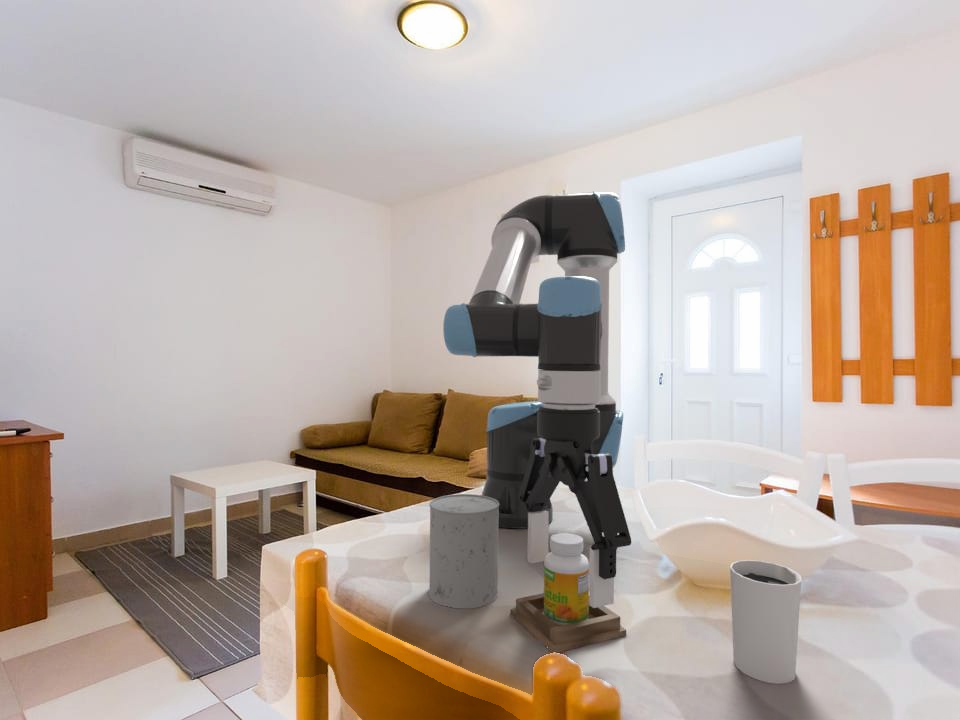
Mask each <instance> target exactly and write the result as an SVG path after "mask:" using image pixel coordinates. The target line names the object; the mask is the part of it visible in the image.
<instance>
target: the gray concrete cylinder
mask: <svg viewBox="0 0 960 720" xmlns="http://www.w3.org/2000/svg"><path fill="white" fill-rule="evenodd" d="M429 507H430V508H429V509H430V510H429V512H430V513H429V588H428V596H429V599H431V600H432V601H433V602H434V603H436V604H437V603H438V604H437V605H439V604H440V605H439V606H442V605H443V607H445V606H448V607H447V608H450V607H452V608H451V609H459V608H460V609H461V610H462V609H463V610H464V609H476V608H480V607H484V606H487V605H489V604H491V603H493V602H494V601H495V600H496V599H497V598H498V597H499V596H498V595H499V580H498V579H499V527H498V520H499V502H498V501H497V500H496V499H493V498H491V497H487V496H482V494H481V495H480V494H469V493H468V494H467V493H464V494H463V493H459V494H456V493H455V494H448V495H442V496H439V497H436V498H434V499H433V498H432V499H431V501H429ZM460 609H459V610H460Z"/></svg>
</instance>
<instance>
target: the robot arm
mask: <svg viewBox="0 0 960 720" xmlns="http://www.w3.org/2000/svg"><path fill="white" fill-rule="evenodd" d="M621 206H622V205H621V201H620V198H619V196H618V195H617V193H614V192H611V191H609V192H607V191H606V192H605V191H603V192H600V191H599V192H597V191H592V192H581V193H564V194H552V195H551V194H550V195H548V194H546V195H539V196H534V197H531V198H528V199H526V200H524V201H522V202H520V203H518V204H517V205H515V206H513V207H512V208H511V209H509V210H508V211H507V212H506V213H504V215H503V216H502V217H501V218H500V219H499V220H498V222H497V223H496V226H495V227H494V229H493V231H492V234H491V241H490V243H491V250H490V251H489V256H488V258H487V260H486V262H485V264H484V267H483V269H482V271H481V275H480V277H479V279H478V281H477V283H476V285H475V288H474V291H473V293H472V296H471V299H470V300H469V302H468V303H467V304H466V303H464V302H463V303H461V304H452V305H451V306H449V307H448V308H447V309H446V310H445V314H444V317H443V318H444V319H443V327H442V328H443V330H442V331H443V340H444V345H445V347H446V349H447V351H448V352H449V353H450V354H451V355H454V356H464V357H465V356H466V357H473V358H477V357H529V358H530V357H532V358H533V357H534V358H537V357H538V363H537V371H538V372H537V376H538V377H537V379H536V385H537V400H536V401H523V402H515V403H507V404H502V405H497V406H494V407H492V408H490V410H489V412H488V414H487V427H486V429H485V431H486V480H485V483H484V487H483V490H482V493H481V495H482V496H487V497H491V498H493V499H496V500H497V501H498V502H499V520H498V528H499V527H500V528H504V529H505V528H506V529H507V528H508V529H527V562H528V563H530V564H535V563H542V562H544V561H545V557H546V556H547V555H548V554H549V528H550V527H549V524H550V523H551V522H552V521H553V516H554V514H553V511H554V509H553V505H552V501H551V497H552V495H553V494H554V492H555V491H556V489H557V487H558V486H559V484H560V482H561V483H562V484H563V485H565V486H567V487H568V488H569V491H570V493H573V494H575V497H576V499H577V502H578V504H579V506H580V509H581V511H582V514H583V517H584V520H585V522H586V524H587V526H588V529H589V532H590V535H591V537H592V540H593V542H594V543H592V544H591V545H590V546H589V605H590V606H591V607H593V608H596V607H601V606H605V607H606V606H608V605H613V604H614V601H615V600H614V599H615V598H614V597H615V595H614V592H615V590H614V589H615V586H614V585H615V578H616V575H617V549H618V548H623V547H628V546H631V544H632V538H631V533H630V530H629V526H628V522H627V520H626V516H625V512H624V509H623V505H622V502H621V498H620V495H619V491H618V487H617V483H616V481H615V477H614V469H613V468H615V466H616V464H617V462H618V458H619V452H620V445H621V441H622V440H621V438H622V433H623V432H622V431H623V430H622V429H623V421H624V412H623V411H621V410H620V409H617V407H616V406H617V401H616V400H615V399H614V398H613V397H612V396H611V395H610V393H609V331H610V330H609V329H610V327H609V325H610V323H609V319H610V315H609V314H610V272H611V271H610V270H611V269H612V268H613V267H614V266H615V265H616V264H617V263H618V254H621V253H624V252H625V251H626V242H625V241H626V240H625V230H624V229H625V227H624V221H623V212H622V207H621ZM538 256H556V257H557V259H556V260H557V264H558V266H559V267H560V268H561V269H562V270H563V271H564V276H555V277H549V278H546V279H545V280H542V282H541V283H540V284H539V290H538V303H520V302H521V299H522V295H523V292H524V289H525V286H526V281H527V277H528V273H529V270H530V267H531V263H532V262H533V260H535V258H537V257H538Z"/></svg>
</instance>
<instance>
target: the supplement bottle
mask: <svg viewBox="0 0 960 720" xmlns="http://www.w3.org/2000/svg"><path fill="white" fill-rule="evenodd" d="M549 539H550V540H549V548H550V551H551V552H548V555H547V556H546V557H545V561H543V562H544V563H543V565H544V566H543V567H544V568H543V574H544V575H543V576H544V577H543V584H544V585H543V593H544V615H545V616H546V617H547V618H548V619H549V620H551V621H552V622H553V623H554V624H555V625H556V626H562V625H566V624H570V623H575V622H579V621H583V620H588V614H589V589H590V561H589V559H588V558H587V556H585V555H584V554H582V553H583V551H584V550H585V549H584V548H585V547H584V538H583V537H582V536H580V535H578V534H574V533H569V532H567V533H566V532H559V533H554V534H552V535H550V538H549Z"/></svg>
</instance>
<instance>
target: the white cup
mask: <svg viewBox="0 0 960 720" xmlns="http://www.w3.org/2000/svg"><path fill="white" fill-rule="evenodd" d="M729 570H730V571H729V573H730V574H729V577H730V597H731V598H730V599H731V602H730V603H731V620H732V621H731V624H732V626H731V627H732V629H731V630H732V650H733V651H732V652H733V653H732V654H733V663H734V665H735V666H736V668H737V669H738V670H739V671H740V672H741V673H743V674H744V675H747V676H748V677H750V678H753V679H755V680H757V681H761V682H764V683H768V684H769V683H770V684H776V685H777V684H778V685H781V684H782V685H784V684H789V683H791V682H793V681H794V680H795V679H796V675H797V674H796V672H797V671H796V668H797V655H798V653H797V652H798V637H799V620H800V606H801V605H800V604H801V592H802V591H801V590H802V589H801V588H802V576H801V575H800V574H799V573H798V572H797V571H795V570H793V569H791V568H789V567H787V566H784V565H781V564H777V563H775V562H774V563H773V562H770V561H768V562H767V561H763V560H754V559H753V560H752V559H744V560H737V561H735V562H732V563H731V564H730V567H729ZM792 680H793V681H792Z"/></svg>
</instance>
